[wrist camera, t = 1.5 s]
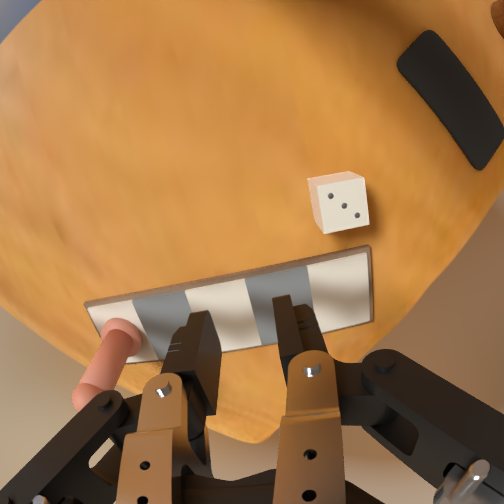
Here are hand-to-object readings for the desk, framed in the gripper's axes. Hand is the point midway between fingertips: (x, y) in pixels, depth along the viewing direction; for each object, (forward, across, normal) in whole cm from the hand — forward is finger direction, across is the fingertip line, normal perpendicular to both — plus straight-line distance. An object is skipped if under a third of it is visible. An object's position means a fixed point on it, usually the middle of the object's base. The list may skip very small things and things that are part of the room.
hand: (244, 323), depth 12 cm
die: (+17, -8, 0) cm, 19 cm away
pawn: (+16, +16, +10) cm, 25 cm away
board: (+17, +4, +10) cm, 20 cm away
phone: (+18, -24, -8) cm, 31 cm away
